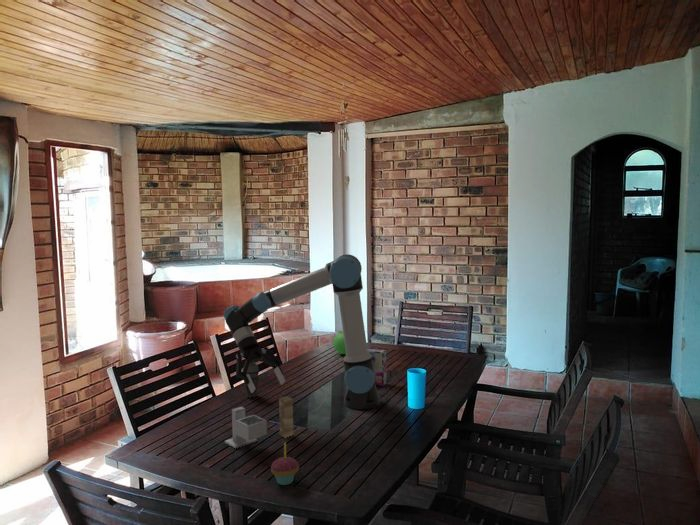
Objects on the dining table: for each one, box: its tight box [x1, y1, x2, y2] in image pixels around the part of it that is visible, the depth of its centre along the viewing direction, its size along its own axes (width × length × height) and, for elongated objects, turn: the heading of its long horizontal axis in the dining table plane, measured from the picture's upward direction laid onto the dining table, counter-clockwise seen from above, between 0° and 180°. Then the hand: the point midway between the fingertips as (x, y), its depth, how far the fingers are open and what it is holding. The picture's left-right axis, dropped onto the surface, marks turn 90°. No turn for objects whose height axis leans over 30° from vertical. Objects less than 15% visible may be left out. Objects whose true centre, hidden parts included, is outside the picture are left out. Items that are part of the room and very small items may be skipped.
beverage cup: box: [242, 361, 260, 399], centre depth 235 cm, size 7×7×20 cm
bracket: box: [224, 406, 268, 450], centre depth 185 cm, size 14×9×12 cm, turn 44°
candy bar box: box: [367, 348, 387, 387], centre depth 252 cm, size 11×5×16 cm, turn 68°
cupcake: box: [270, 442, 300, 486], centre depth 160 cm, size 9×8×12 cm
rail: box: [278, 396, 294, 439], centre depth 193 cm, size 4×4×14 cm
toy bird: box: [332, 330, 346, 356], centre depth 305 cm, size 18×17×15 cm
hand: (268, 386), depth 200 cm, fingers open, 13 cm apart
